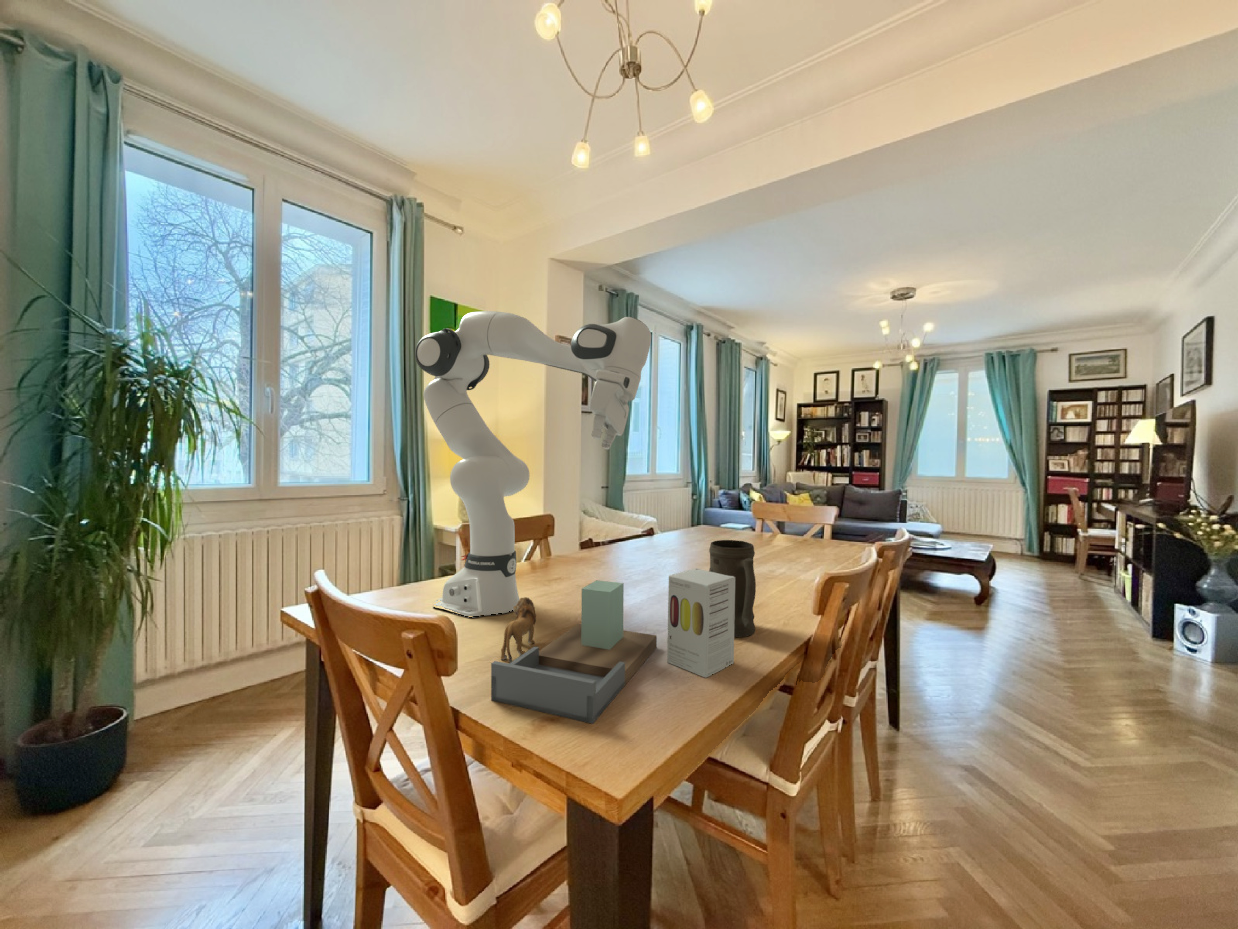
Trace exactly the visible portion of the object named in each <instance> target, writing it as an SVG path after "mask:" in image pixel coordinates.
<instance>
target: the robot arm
mask: <svg viewBox="0 0 1238 929" xmlns="http://www.w3.org/2000/svg"><path fill="white" fill-rule="evenodd" d="M651 342H652V333H651V331H650V329H649V327H648V326H647V324H645V323H644V322H643V321H641V320H639V319H638V318H635V317H632V316H625V317H622V318H621V319H619V320H617V321H614V322H611V323H605V324H596V323H588V324H585V325H583V326H581V327H579V328H578V329H577V330H576V331H575V333H574V334H573V336H572V338H571V341H570V344H566V343H561V342H558V341H556V340H554V339H553V338H551V337H549V336H548V335H547V334H546V333H544V332H543V331H542V330H540V329H539V327H537V326H536V325H535V324H534V323H533V322H531V321H530V320H529V319H527V318H526V317H523V316H521V315H519V314H518V315H517V314H516V313H515V314H514V313H511V312H507V311H506V312H505V311H497V310H495V311H494V310H482V311H481V310H479V311H472V312H468V313H466V314H465V315H464V316H463V317H462V318H461V320H460V322H459V325H458V329H457V330H455V331H454V330H452V329H451V328H448V327H446V328H443V329H441V330H440V331H435V332H431V333H428V334H426V335H424V336H423V337H421V339H419V341H418V342H417V344H416V346H415V350H414V358H415V361H416V364H417V366H418V367H419V369H421V370H422V371H424V372H425V373H426V374H429V375H431V376H433V377H434V378H433V380H431V381H430V382H429V383H427V384H426V386H425V388H424V390H423V399H424V402H425V406H426V407H427V408H426V409H427V410H428V413H429V416H430V417H431V419H432V421H433V423H434V425H435V426H436V428H437V430H438V431H439V433H440V435H441V437H442V438H443V440H444V442H445V443H446V445H447V446H448V448H449V450H451V452H452V453H453V454H455V455H456V456H458V457H460V458H461V460H459V461H458V462H456V463H455V464H454V465H453V467H452V469H451V471H450V476H449V481H450V482H449V483H450V486H451V489H452V490H453V492H454V493H455V494H456V495H457V497H459V498H460V500H461V501H462V503H463V504H464V508H465V510H466V513H467V518H468V524H469V542H470V544H469V545H470V546H469V547H470V550H469V552H468V553H467V554H465V555H461V556H460V557H461V558H462V559H460V561H465V562H464V566H463V567H462V568H461V569H460V570H459V571H458V572H456V573H455V574H454V575H453V576H451V577H450V578H448V579H447V580H446V581H445V583H444V586H443V588H442V595H441V597H440V598H438V599H436V600H435V601H434V602H437V601H438V600H440V601H441V602H438V603H436V604H434V605H436V606H442V607H444V608H445V609H449V610H452V611H454V612H457V613H460V614H462V615H464V616H463V617H465V616H479V617H481V616H480V615H484V616H492V615H491V614H496V615H499V614H498V613H502V614H507V613H510V612H513V611H512V610H513V607H514V606H516V605H517V603H518V601H519V600H520V595H519V592H518V587H517V586H518V585H517V576H516V571H517V551H516V549H515V548H516V547H515V539H516V538H515V530H516V529H515V521H514V519H513V518H512V517H511V515H509V512H508V510H507V507H506V504H505V498H504V497H511V496H513V495H516V494H517V493H519V492H521V491H522V490H524V489H525V488H527V485H528V483H529V481H530V470H529V467H528V464H527V463H525V461H523V460H522V459H520V458H519V457H517V456H516V455H514V453H512V452H511V451H510V450H509V448H508V447H506V445H505V444H503V443H502V441H501V440H499V438H498V437H497V436H496V435H495V434H494V433H493V432H492V431H491V429H490V428H489V427H488V426H487V423H486V422H485V420H484V419H483V417H482V416H481V414H480V412H479V411H478V409H477V408H476V406H475V405H474V403H473V402H472V400H471V398H470V397H469V395H468V391H472V390H474V389H476V386H477V385H478V384H479V383H481V381H483V380H484V379H485V377H486V376H487V375H488V373H489V369H490V358H489V357H488V356H489V355H490V356H494V357H499V358H504V359H505V358H506V359H512V360H519V361H523V362H524V361H525V362H530V363H534V364H541V365H546V366H549V367H553V368H557V369H560V370H565V371H570V372H574V373H578V374H581V375H585V376H587V377H588V378H590V379H591V380H592V381H593V382H594V384H593V385H594V386H593V389H592V392H591V395H590V396H591V397H590V399H589V411H590V412H591V413H592V414H593V415H594V418H593V425H592V427H593V428H592V429H593V430H592V433H591V437H592V438H593V439H595V440H600V439H601V438H602V435H603V428H604V429H606V432H605V437H604V439H603V440H602V443H601V447H602V448H603V449H605V450H610V449H611V446H612V444H613V442H614V440H615V439H616V436H619V437H622V435H623V434H624V432H625V428H626V425H627V421H628V417H629V412H630V407H629V405H628V403H629V402H631V401H634V400H635V399H636V395H637V394H638V393H637V392H638V390H639V386H640V382H641V379H642V370H643V368H644V366H645V365H646V363H647V359H648V356H649V352H650V348H651ZM509 611H510V612H509Z"/></svg>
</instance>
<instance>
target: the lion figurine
mask: <svg viewBox="0 0 1238 929" xmlns="http://www.w3.org/2000/svg"><path fill="white" fill-rule="evenodd" d="M519 599H520V600H519V601H518V603H517V605H516V606H514V607H513V611H512V612H514V613H515V615H516V620H515V619H514V620H511V621H510V622H508V623H507V624H506V627H505V630H504V634H503V644H502V648H501V654H500V659H501V660H506V659H507V658H508V662H509V663H511V662H512V661H513V656H512V655H511V650H510V640H511V638H513V639H514V640H515V644H516V650H517V652H518V654H519V656H521V655H523V654H524V653H525V652H526V651H525V650H522V645H523V636H525V635H527V633H528V639H527V643H528V644H529V643H530V644H529V645H533V644H532V643H534V644H535V640H534V639H533V638H534V632H535V629H534V626H535V624H536V622H537V620H536V619H537V614H536V607H535V605H534V602H533V600H532V599H530V597H525V596H524V597H519ZM506 653H507V654H506Z"/></svg>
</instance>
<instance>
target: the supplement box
mask: <svg viewBox="0 0 1238 929" xmlns="http://www.w3.org/2000/svg"><path fill="white" fill-rule="evenodd" d="M667 596H668V599H667V600H668V602H667V604H668V605H667V646H666V647H667V650H666V652H667V653H666V662H667V663H668V664H671V665H672V666H673V665H674V666H676V667H678V668H681V669H684V670H685V671H688V672H690V673H693V674H696V675H698V676H700V677H703V678H709V677H710V676H712V674H713V675H715V674H716V673H718V672H720V671H722V670H724V669H726V668H728V667H730V666H731V664H732V665H733V664H734V663H735V662H734V661H735V660H734V659H735V658H734V656H735V637H734V620H735V577H733V576H727V575H723V574H719V573H714V572H709V570H703V569H701V568H692V569H689V570H685V571H680V572H677V573H674V574H670V575H668V594H667ZM729 665H730V666H729ZM725 667H726V668H725Z"/></svg>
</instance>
